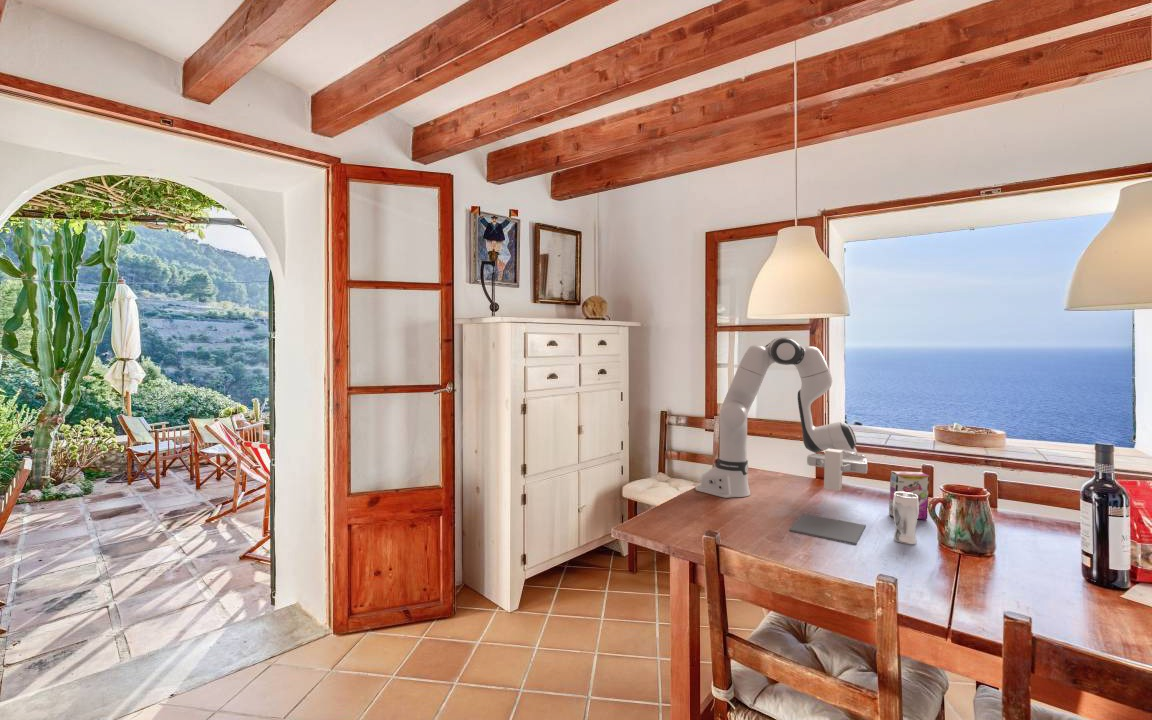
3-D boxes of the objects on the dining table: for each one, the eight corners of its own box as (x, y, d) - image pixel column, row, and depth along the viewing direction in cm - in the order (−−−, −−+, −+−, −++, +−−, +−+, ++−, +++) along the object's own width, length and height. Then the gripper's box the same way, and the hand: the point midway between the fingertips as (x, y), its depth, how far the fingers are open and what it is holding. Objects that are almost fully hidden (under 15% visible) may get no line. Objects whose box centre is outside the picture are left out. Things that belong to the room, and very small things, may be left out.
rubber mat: (789, 530, 174) (789, 529, 174) (803, 515, 190) (803, 513, 190) (856, 544, 162) (856, 543, 162) (865, 526, 178) (865, 525, 178)
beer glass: (908, 546, 160) (909, 498, 160) (887, 538, 167) (888, 492, 166) (923, 543, 163) (924, 496, 162) (901, 535, 169) (903, 490, 169)
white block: (823, 488, 188) (825, 450, 187) (826, 485, 192) (827, 448, 191) (838, 491, 185) (840, 452, 184) (841, 488, 189) (842, 450, 188)
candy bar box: (895, 519, 185) (896, 474, 185) (888, 514, 190) (889, 470, 190) (928, 520, 184) (929, 475, 184) (920, 515, 189) (921, 471, 188)
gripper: (811, 448, 204) (802, 454, 193) (870, 456, 192) (864, 462, 181) (810, 464, 204) (802, 470, 193) (869, 472, 192) (864, 480, 181)
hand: (833, 467), depth 187 cm, fingers closed on white block, 5 cm apart
